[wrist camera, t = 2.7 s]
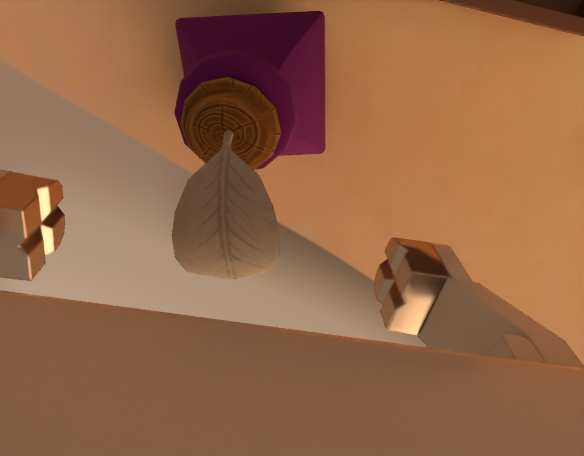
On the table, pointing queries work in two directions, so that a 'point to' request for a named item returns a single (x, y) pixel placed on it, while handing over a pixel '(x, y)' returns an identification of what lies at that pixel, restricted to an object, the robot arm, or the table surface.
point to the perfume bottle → (243, 131)
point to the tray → (535, 12)
